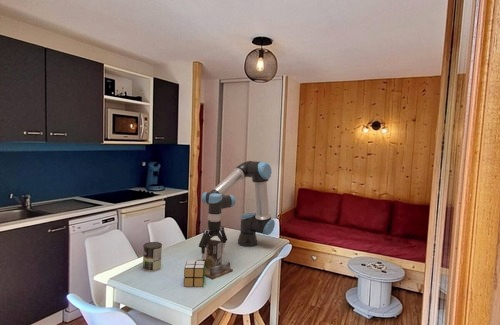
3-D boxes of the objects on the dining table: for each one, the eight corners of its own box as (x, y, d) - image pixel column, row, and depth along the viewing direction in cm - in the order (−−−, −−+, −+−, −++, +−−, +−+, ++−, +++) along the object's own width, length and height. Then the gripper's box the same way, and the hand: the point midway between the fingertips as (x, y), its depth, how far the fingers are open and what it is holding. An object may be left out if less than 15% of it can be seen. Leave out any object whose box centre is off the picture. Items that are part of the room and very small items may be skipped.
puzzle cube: (186, 278, 161) (186, 260, 161) (204, 278, 162) (205, 260, 161) (183, 287, 151) (184, 268, 151) (203, 287, 152) (204, 268, 151)
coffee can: (143, 272, 165) (144, 248, 164) (142, 265, 174) (142, 242, 174) (162, 270, 169) (163, 246, 168) (160, 263, 179) (160, 241, 178)
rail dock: (212, 262, 185) (212, 254, 184) (232, 271, 173) (233, 262, 172) (191, 269, 173) (192, 260, 172) (212, 279, 161) (212, 270, 160)
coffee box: (221, 267, 174) (223, 241, 173) (216, 272, 168) (217, 244, 167) (208, 265, 177) (209, 238, 176) (202, 268, 171) (204, 241, 170)
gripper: (225, 215, 183) (224, 249, 184) (193, 222, 164) (191, 259, 165) (234, 218, 178) (232, 252, 179) (201, 225, 159) (200, 263, 160)
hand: (213, 255), depth 172 cm, fingers open, 13 cm apart
